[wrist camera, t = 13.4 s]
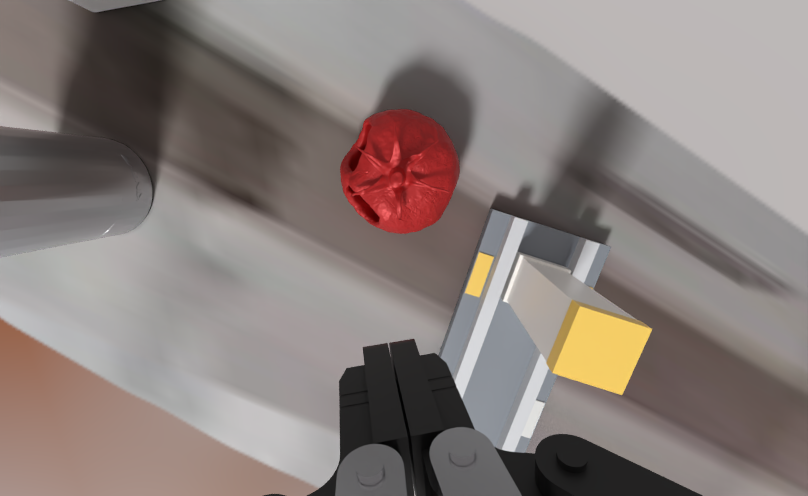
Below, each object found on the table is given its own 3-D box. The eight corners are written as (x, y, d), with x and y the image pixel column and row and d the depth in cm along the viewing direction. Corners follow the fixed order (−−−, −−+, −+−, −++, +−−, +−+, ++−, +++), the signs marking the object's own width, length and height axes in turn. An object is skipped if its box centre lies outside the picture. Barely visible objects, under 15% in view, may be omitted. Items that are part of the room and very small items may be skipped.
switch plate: (513, 461, 42) (520, 483, 39) (412, 430, 42) (411, 449, 39) (603, 244, 37) (618, 249, 34) (490, 208, 37) (495, 211, 34)
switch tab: (547, 311, 37) (625, 398, 23) (499, 296, 37) (547, 374, 23) (565, 266, 36) (657, 327, 22) (516, 251, 36) (576, 302, 22)
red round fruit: (454, 115, 36) (467, 94, 27) (456, 226, 38) (468, 241, 29) (344, 120, 37) (321, 100, 28) (351, 229, 38) (330, 245, 29)
